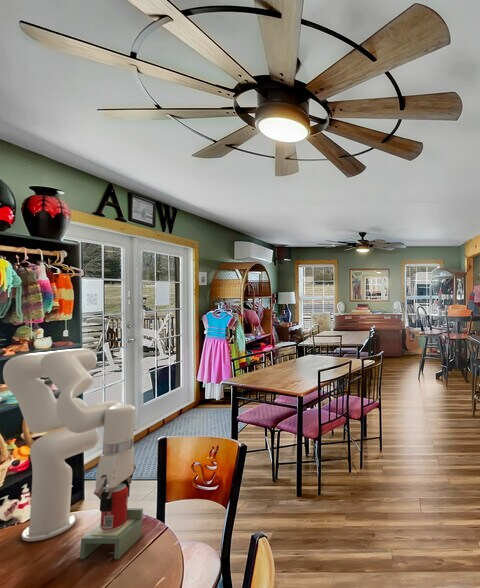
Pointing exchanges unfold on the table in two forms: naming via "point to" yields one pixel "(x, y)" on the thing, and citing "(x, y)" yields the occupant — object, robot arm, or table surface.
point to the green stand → (115, 535)
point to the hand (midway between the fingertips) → (114, 503)
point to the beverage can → (116, 509)
